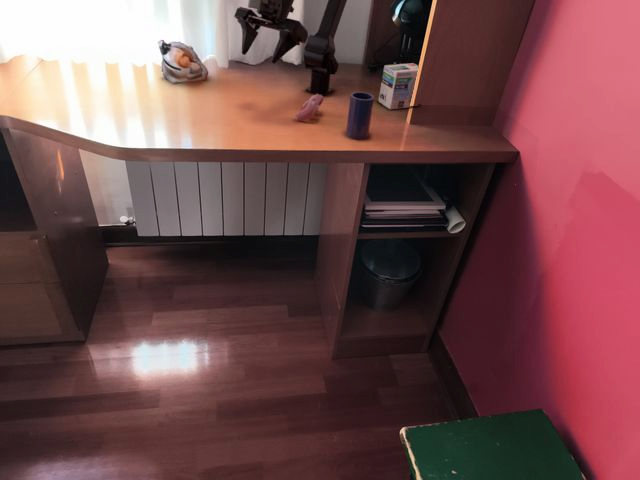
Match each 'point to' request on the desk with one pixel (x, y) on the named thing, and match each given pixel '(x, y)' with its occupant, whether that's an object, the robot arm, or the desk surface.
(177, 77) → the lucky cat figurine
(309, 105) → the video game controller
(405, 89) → the light bulb box
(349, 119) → the pencil cup
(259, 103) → the desk surface
